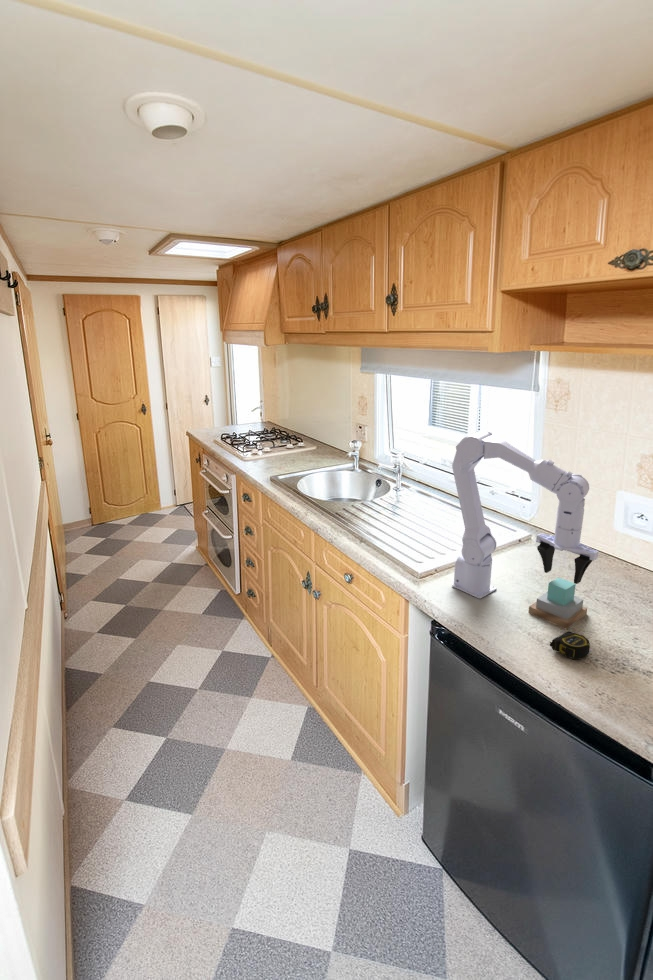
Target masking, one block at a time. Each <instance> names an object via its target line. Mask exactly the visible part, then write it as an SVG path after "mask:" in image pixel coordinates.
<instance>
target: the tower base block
mask: <svg viewBox="0 0 653 980" xmlns="http://www.w3.org/2000/svg"><path fill="white" fill-rule="evenodd" d="M536 603H537V601H536V602H534V603H532V604H531V605H529V606H528V614H531V615H534V616H536V617H538V618H540V619H542V620H544V621H547V622H549V623H551V624H554V625H556V626H558V627H561V628H563V629H565V630H568V629H569V628H571V627H572V626H573V625H575V623H577V622H579V621H580V620H581V619H583V618H584V617H585V616H587V613H588V607H586V606H583V607H582V609H581V610H579V611H578V612H577V613H576V614H574V615H573V616H572V617H570V618H569V619H568V620H565V619H563V618H560V617H558V616H556V615H553V614H551V613H548V612H546V611H543V610H541V609H539V608H536Z"/></svg>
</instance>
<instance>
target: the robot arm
mask: <svg viewBox="0 0 653 980" xmlns="http://www.w3.org/2000/svg"><path fill="white" fill-rule="evenodd" d="M455 449H456V451H455V454H454V458H453V461H452V465H451V466H452V474H453V476H454V481H455V482H454V483H455V487H456V491H457V495H458V496H457V497H458V501H459V506H460V510H461V515H462V520H463V524H464V525H463V526H464V532H463V534H462V538H461V539H462V546H461V547H462V549H461V554H460V555H459V556H458V557H457V559H456V561H455V564H454V574H453V575H454V576H453V583H452V584H451V586H452V587H453V588H455V589H457V590H458V591H459V590H460V591H461V592H463V593H466V594H468V595H470V596H473V597H475V598H477V599H482V598H484V597H485V596H487V595H489V594H491V593H493V592H494V591H496V590H497V587H496V586H494V585H492V584H491V578H492V568H493V567H492V565H493V557H492V553H494V552H495V551H496V548H497V541H496V539H495V537H494V536H493V534H492V532H491V528H490V527H489V526H488V525H487V524H486V522H485V518H484V517H485V516H484V512H483V508H482V506H483V505H482V502H481V498H480V493H479V488H478V487H479V486H478V482H477V477H476V472H475V467H476V466H477V465H478V464H479V462H480V461H481V460H482V459H484V460H487V459H489V460H490V459H497V458H498V459H501V460H502V461H505V462H506V463H509V464H510V465H512V466H515V467H516V468H519V469H520V470H523V471H524V472H527V473H528V476H529V479H530V480H531V481H532V482H534V483H536V484H538V485H539V486H541V487H542V488H544V489H546V490H547V491H549V492H552V493H553V494H554V495H555V494H556V497H557V499H558V506H557V513H556V520H555V528H554V535H551V534H546V533H542V532H540V533H538V534H536V538H535V542H536V543H538V544H539V545H537V546H536V547H537V551H538V553H539V556H540V558H541V561H542V565H543V571H544V573H546V574H547V573H549V572H551V571H552V569H553V561H554V555H555V551H556V550H558V551H561V552H562V551H566V552H568V553H569V552H570V553H572V554H575V555H579V556H577V557H575V558H574V568H575V569H574V576H573V583H575V584H576V585H578V584H580V583H581V581H582V578H583V576H584V574H585V573H586V570H587V569H588V567H589V566H590V564H591V563H592V562H593V561H596V560H597V559H598V557H599V550H596V549H594V548H591V547H590V546H587V545H586V544H584V543H582V542H581V535H582V529H583V522H584V514H585V504H586V503H585V502H586V498H585V497H586V496H587V495H588V493H589V490H590V484H589V481H588V480H587V479H586V478H585V477H584V476H582V474H577V473H576V474H573V472H571V471H565V470H564V469H562V468H561V467H558V466H556V465H555V462H554V461H553V460H551V459H549V460H546V459H540V460H535V459H534V458H532V457H531V456H530V455H527V454H526V453H525V452H523V451H521V450H519V449H518V448H517V447H515V446H514V445H511V444H510V443H508V442H507V441H505V440H504V439H503V438H501V437H500V436H499V435H497V434H493V433H492V432H491V431H489V430H486V429H481V430H478V431H476V432H475V433H473V434H471V435H468V436H465V437H463V438H462V439H461V440H460V441H459V442H458V443H457V444H456V446H455Z"/></svg>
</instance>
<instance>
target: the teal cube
mask: <svg viewBox="0 0 653 980" xmlns="http://www.w3.org/2000/svg"><path fill="white" fill-rule="evenodd" d="M576 585H577V584H575V583H574V582H573V581H569V580H567V579H564V578H561V577H557V578H555V579H553V580H551V581H549V582H548V588H547V592H548V594H547V599H549V600H551V601H553V602H556V603H558V604H561V605H563V606H565V605H566V604H568V603H569V602H571V601H573V600H574V596H575V593H576Z"/></svg>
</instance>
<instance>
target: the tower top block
mask: <svg viewBox="0 0 653 980" xmlns="http://www.w3.org/2000/svg"><path fill="white" fill-rule="evenodd" d="M547 594H548V591H546V592H545V593H543V594H541V595H540V596H539V597H538V598H536V602H537V603H536V608H539V609H541V610H543V611H546V612H548V613H551V614H553V615H556V616H558V617H560V618H563V619H565V620H568V619H569V618H570V617H572V616H573V615H574V614H576V613H577V612H578V611H579V610H581V609H582V607H584V606H583V605H584V599H583V598H580V597H578V596H575V595H574V600H573V601H571V602H569V603H568V604H566V605H565V606H563V605H561V604H558V603H556V602H553V601H551V600H549V599H547Z"/></svg>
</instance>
